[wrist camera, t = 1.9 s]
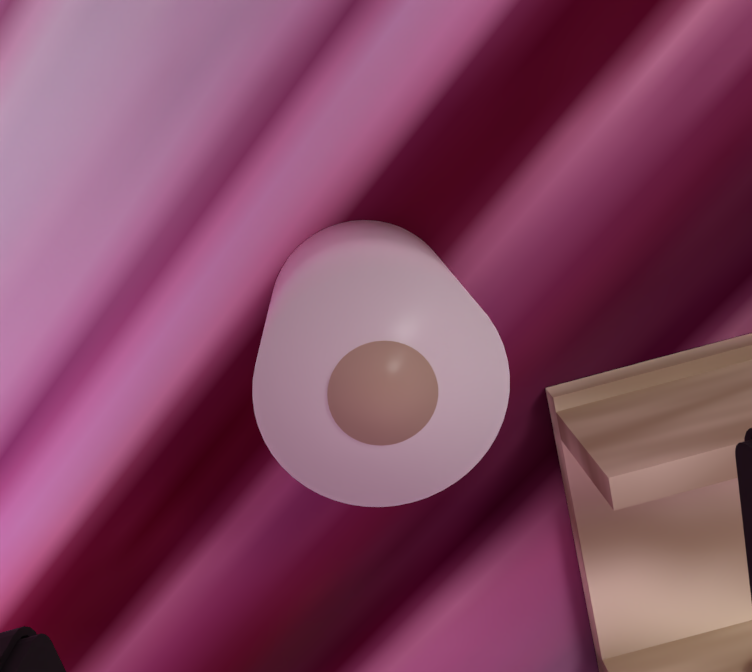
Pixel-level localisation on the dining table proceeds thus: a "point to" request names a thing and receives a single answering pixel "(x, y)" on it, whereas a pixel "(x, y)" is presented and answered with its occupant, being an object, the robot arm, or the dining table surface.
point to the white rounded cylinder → (376, 368)
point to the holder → (661, 507)
